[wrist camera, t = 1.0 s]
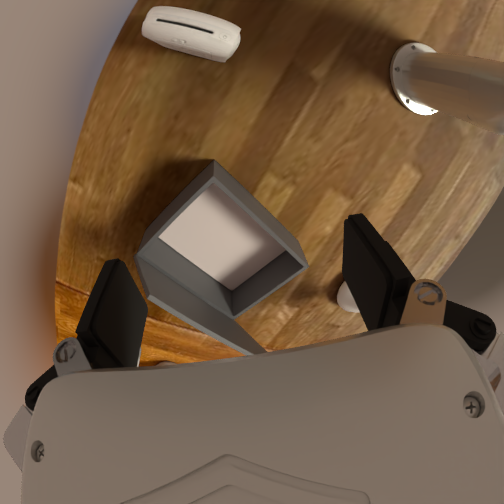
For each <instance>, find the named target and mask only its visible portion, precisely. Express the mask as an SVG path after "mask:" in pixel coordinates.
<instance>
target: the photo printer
mask: <svg viewBox="0 0 504 504" xmlns="http://www.w3.org/2000/svg"><path fill="white" fill-rule="evenodd" d="M240 31H241V28H239V27H238V26H236V25H235V24H233V23H231V22H228V21H226V20H223V19H221V18H218V17H215V16H212V15H209V14H205V13H201V12H198V11H193V10H189V9H184V8H178V7H170V6H157V7H153V8H152V9H151V10H150V11H149V12H148V13H147V17H146V19H145V21H144V22H143V25H142V35H143V36H144V37H146V38H148V39H150V40H152V41H154V42H156V43H158V44H160V45H162V46H164V47H166V48H170V49H173V50H177V51H181V52H184V53H188V54H192V55H195V56H199V57H202V58H206V59H210V60H213V61H218V62H226V60H227V59H228V58H230V57H231V56H232V55H233V53H234V52H235V51H236V49H237V48H238V46H239V44H240Z"/></svg>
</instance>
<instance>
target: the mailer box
mask: <svg viewBox="0 0 504 504" xmlns="http://www.w3.org/2000/svg"><path fill="white" fill-rule="evenodd" d="M136 255H138V256H139V257H140V258H142V259H143V260H145V261H146V262H147V263H149V264H150V265H152V266H153V267H154V268H156V269H157V270H159V271H160V272H162V273H163V274H164V275H166V276H167V277H169V278H170V279H172V280H173V281H175V282H176V283H178V284H179V285H180V286H182V287H183V288H185V289H186V290H188V291H189V292H191V293H192V294H194V295H195V296H197V297H199V298H200V299H202V300H203V301H205V302H206V303H208V304H209V305H211V306H212V307H214V308H216V309H217V310H219V311H220V312H222V313H223V314H225V315H227V316H228V317H230V318H231V319H233V320H234V319H236V318H237V317H239V316H240V315H242V314H243V313H244V312H246V311H247V310H249V309H250V308H252V307H253V306H255V305H256V304H258V303H259V302H260V301H262V300H263V299H265V298H266V297H268V296H269V295H270V294H272V293H273V292H275V291H276V290H278V289H279V288H280V287H282V286H283V285H285V284H286V283H287V282H289V281H290V280H291V279H293V278H294V277H296V276H297V275H298V274H300V273H301V272H303V271H304V270H305V269H307V268H308V267H309V265H308V263H307V260H306V258H305V256H304V253H303V251H302V249H301V246H300V244H299V242H298V240H297V239H296V238H295V237H294V236H293V235H292V234H291V233H290V232H289V231H288V230H287V229H286V228H285V227H284V226H283V225H282V224H281V223H280V222H279V221H278V220H277V219H276V218H275V217H274V216H273V215H272V214H271V213H270V212H269V211H268V210H267V209H266V208H265V207H264V206H263V205H261V204H260V203H259V202H258V201H257V200H256V199H255V198H254V197H253V196H252V195H251V194H250V193H249V192H248V191H247V190H246V189H245V188H244V187H243V186H242V185H241V184H240V183H239V182H238V181H237V180H236V179H235V178H233V177H232V176H231V175H230V174H229V173H228V172H227V171H226V170H225V169H224V168H223V167H222V166H221V165H220V164H219V163H218V162H216V161H215V160H213V161H212V162H211V163H210V164H209V165H208V166H207V167H206V168H205V169H204V170H203V171H202V172H201V173H200V174H199V175H198V176H197V177H196V178H194V179H193V180H192V181H191V182H190V183H189V184H188V185H187V186H186V187H185V188H184V190H183V191H182V192H181V193H180V194H179V195H178V196H177V197H176V198H175V199H174V200H173V201H172V202H171V203H170V204H169V205H168V206H167V207H166V208H165V209H164V210H163V211H162V212H161V213H160V215H159V216H158V217H157V218H156V219H155V220H154V221H153V222H152V223H151V224H150V225H149V227H148V228H147V229H146V231H145V233H144V236H143V238H142V241H141V244H140V246H139V249H138V252H137V254H136Z"/></svg>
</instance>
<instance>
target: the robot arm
mask: <svg viewBox="0 0 504 504" xmlns="http://www.w3.org/2000/svg"><path fill="white" fill-rule="evenodd" d="M390 79H391V84H392V87H393V90H394V92H395V94H396V96H397V98H398V99H399V101H400V102H401V103H402V104H403V105H404V106H405V107H406V108H407V109H409V110H410V111H412V112H414V113H417V114H420V115H430V114H433V113H436V112H437V111H439V112H442V113H445V114H448V115H450V116H453V117H456V118H458V119H461V120H464V121H466V122H469V123H471V124H473V125H476V126H478V127H480V128H483V129H485V130H488V131H490V132H492V133H495V134H498V135H504V62H500V61H495V60H490V59H484V58H479V57H472V56H465V55H457V54H447V53H437V52H436V51H434V50H433V49H432V48H431V47H429V46H427V45H425V44H422V43H408V44H404V45H403V46H401V47H400V48H399V49H398V50H397V51H396V52H395V54H394V56H393V58H392V61H391V65H390ZM342 274H343V277H344V280H345V282H346V284H347V286H348V288H349V290H350V292H351V294H352V296H353V298H354V300H355V303H356V305H357V307H358V309H359V311H360V313H361V316H362V318H363V320H364V322H365V324H366V327H367V329H368V331H367V332H363V333H359V334H355V335H350V336H346V337H342V338H337V339H333V340H328V341H324V342H319V343H315V344H310V345H305V346H300V347H295V348H290V349H284V350H279V351H273V352H267V353H261V354H255V355H249V356H242V357H235V358H228V359H220V360H212V361H203V362H194V363H184V364H173V365H160V366H145V367H137V363H138V358H139V352H140V347H141V342H142V337H143V332H144V327H145V322H146V318H147V313H148V307H147V304H146V302H145V300H144V299H143V297H142V295H141V293H140V291H139V290H138V288H137V286H136V284H135V282H134V280H133V278H132V276H131V274H130V273H129V271H128V269H127V267H126V265H125V263H124V262H123V261H120V260H119V259H118V258H117V259H112V260H107V261H106V262H105V264H104V266H103V268H102V270H101V272H100V274H99V276H98V278H97V281H96V283H95V285H94V287H93V290H92V292H91V294H90V297H89V299H88V301H87V304H86V306H85V308H84V311H83V313H82V316H81V318H80V321H79V324H78V326H77V329H76V331H75V332H76V333H77V335H78V336H77V339H76V338H72V337H70V338H66V339H64V340H63V341H61V342H60V343H59V344H58V345H57V347H56V348H55V350H54V353H53V362H54V365H53V366H52V367H51V368H50V369H49V370H47V371H46V372H45V373H44V374H43V375H42V376H40V377H39V378H38V379H37V380H36V381H35V382H34V383H32V384H31V385H30V387H29V388H28V389H27V392H26V395H25V403H26V406H24V405H22V406H21V408H20V409H19V411H18V413H17V414H16V415H15V417H14V419H13V420H12V422H11V423H10V425H9V426H8V428H7V429H6V431H5V434H4V438H3V440H4V445H5V448H6V449H7V451H8V452H9V454H10V455H11V457H12V458H13V460H14V461H15V463H16V464H17V466H18V467H19V469H20V470H21V471H22V487H21V488H22V489H21V504H504V334H503V333H502V332H501V333H500V334H498V333H497V332H496V327H495V324H494V322H493V321H492V319H491V318H489V317H488V316H487V315H485V314H483V313H480V312H478V311H475V310H472V309H470V308H467V307H465V306H462V305H459V304H457V303H454V302H451V301H448V300H446V299H447V296H446V292H445V290H444V288H443V287H442V286H441V285H440V284H439V283H437V282H435V281H433V280H429V279H420V280H417V281H416V280H415V278H414V277H413V276H412V274H411V273H410V271H409V270H408V269H407V267H406V266H405V264H404V263H403V262H402V260H401V259H400V258H399V256H398V255H397V254H396V252H395V251H394V250H393V248H392V247H391V246H390V244H389V243H388V242H387V241H384V240H383V238H382V237H381V236H380V234H379V233H378V232H377V231H376V229H375V228H374V227H373V226H372V224H371V223H370V222H369V221H368V219H367V218H366V217H365V216H364V215H363V214H362V213H360V214H354V215H349V216H348V219H345V221H344V243H343V264H342Z"/></svg>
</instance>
